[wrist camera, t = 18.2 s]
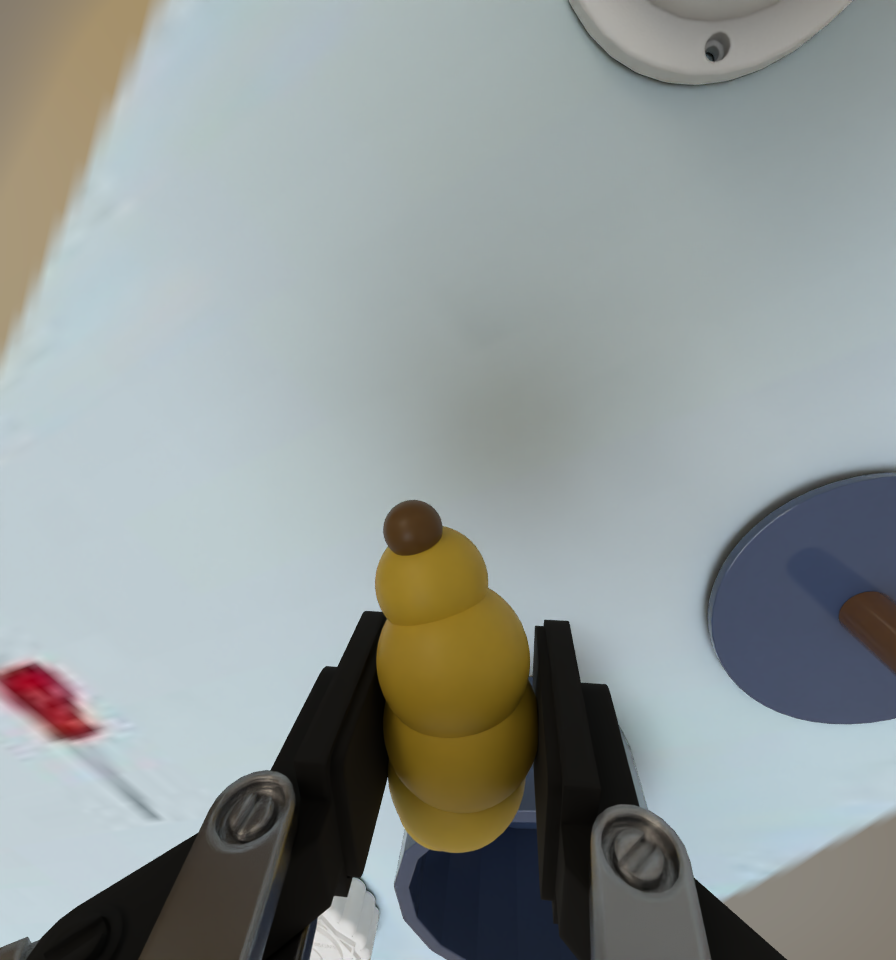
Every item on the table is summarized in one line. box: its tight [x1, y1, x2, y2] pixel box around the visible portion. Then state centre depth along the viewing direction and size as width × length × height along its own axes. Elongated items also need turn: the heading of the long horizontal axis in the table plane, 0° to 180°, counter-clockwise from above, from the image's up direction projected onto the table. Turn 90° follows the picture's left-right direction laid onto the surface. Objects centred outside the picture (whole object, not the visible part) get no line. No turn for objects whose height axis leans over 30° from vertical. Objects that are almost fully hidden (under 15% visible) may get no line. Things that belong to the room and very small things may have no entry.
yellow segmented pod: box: [375, 500, 538, 853], centre depth 10 cm, size 9×3×3 cm, turn 1°
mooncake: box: [310, 877, 379, 960], centre depth 38 cm, size 12×12×4 cm
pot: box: [394, 677, 648, 960], centre depth 27 cm, size 14×19×8 cm
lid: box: [708, 473, 896, 724], centre depth 22 cm, size 15×15×6 cm
